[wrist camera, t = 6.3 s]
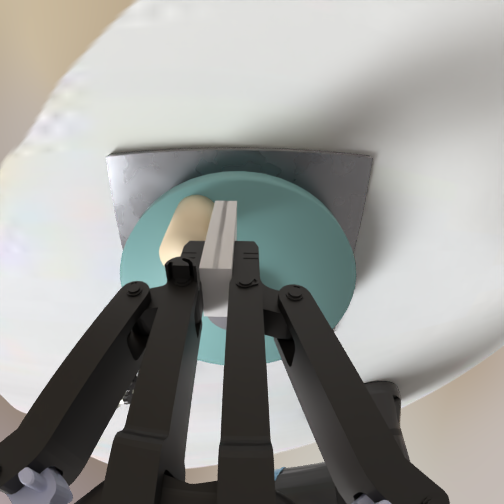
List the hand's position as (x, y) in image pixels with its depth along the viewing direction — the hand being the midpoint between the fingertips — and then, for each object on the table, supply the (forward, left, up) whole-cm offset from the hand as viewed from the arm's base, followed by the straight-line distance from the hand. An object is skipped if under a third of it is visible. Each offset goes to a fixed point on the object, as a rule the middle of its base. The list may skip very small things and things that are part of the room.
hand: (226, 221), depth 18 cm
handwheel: (-1, +8, -5) cm, 9 cm away
